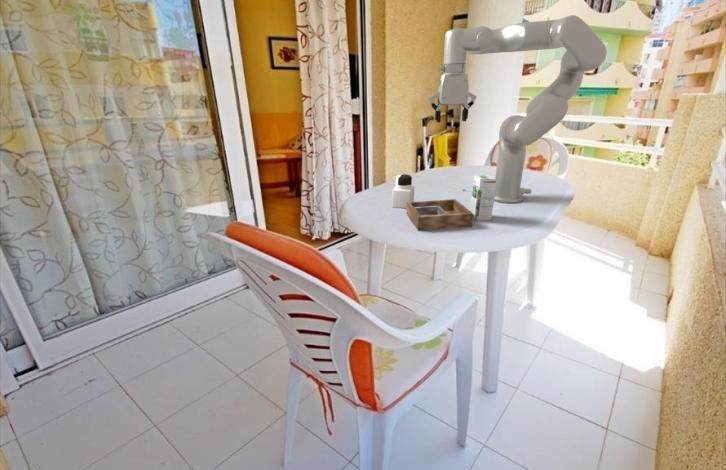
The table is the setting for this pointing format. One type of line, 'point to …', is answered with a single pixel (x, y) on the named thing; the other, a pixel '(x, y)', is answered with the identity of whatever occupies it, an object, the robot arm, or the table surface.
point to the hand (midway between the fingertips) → (451, 121)
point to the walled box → (439, 214)
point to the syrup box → (483, 197)
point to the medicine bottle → (403, 191)
